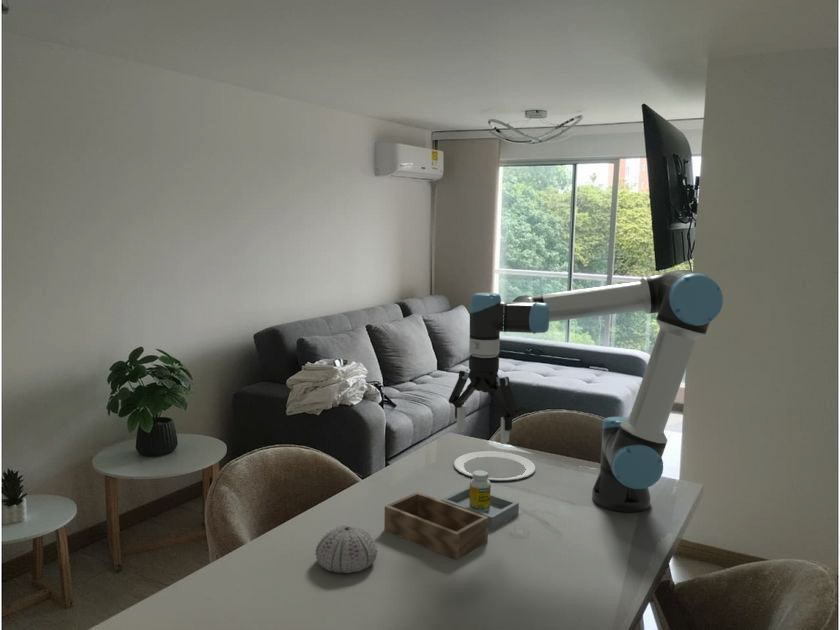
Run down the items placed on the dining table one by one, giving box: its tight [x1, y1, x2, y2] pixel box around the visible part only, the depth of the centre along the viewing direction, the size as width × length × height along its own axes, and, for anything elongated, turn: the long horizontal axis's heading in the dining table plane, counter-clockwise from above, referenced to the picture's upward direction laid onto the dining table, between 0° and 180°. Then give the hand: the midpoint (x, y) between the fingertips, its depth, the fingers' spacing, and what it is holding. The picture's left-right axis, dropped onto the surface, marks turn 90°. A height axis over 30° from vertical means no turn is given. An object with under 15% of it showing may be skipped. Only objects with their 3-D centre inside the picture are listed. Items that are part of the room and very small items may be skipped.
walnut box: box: [383, 491, 489, 561], centre depth 161 cm, size 22×12×6 cm, turn 49°
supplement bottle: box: [469, 469, 492, 512], centre depth 174 cm, size 5×5×10 cm
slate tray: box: [440, 486, 520, 530], centre depth 174 cm, size 16×12×3 cm
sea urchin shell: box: [314, 524, 378, 574], centre depth 147 cm, size 13×14×8 cm
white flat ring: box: [453, 450, 536, 482], centre depth 207 cm, size 25×25×1 cm
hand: (482, 436), depth 172 cm, fingers open, 13 cm apart
